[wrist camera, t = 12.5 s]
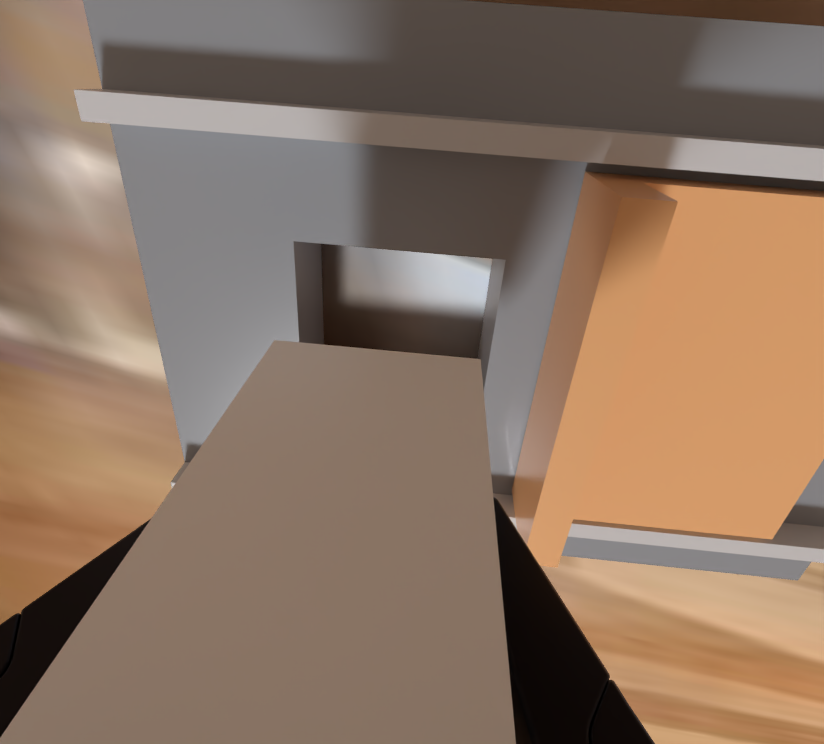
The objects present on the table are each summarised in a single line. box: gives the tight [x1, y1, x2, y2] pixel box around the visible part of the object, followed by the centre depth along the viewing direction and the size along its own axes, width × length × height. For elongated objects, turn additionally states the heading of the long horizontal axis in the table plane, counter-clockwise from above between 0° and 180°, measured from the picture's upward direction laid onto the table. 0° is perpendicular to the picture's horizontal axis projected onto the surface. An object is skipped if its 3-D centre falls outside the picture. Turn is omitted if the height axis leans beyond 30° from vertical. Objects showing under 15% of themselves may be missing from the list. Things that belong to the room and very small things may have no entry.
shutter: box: [512, 171, 824, 567], centre depth 13 cm, size 8×10×3 cm
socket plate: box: [74, 0, 824, 580], centre depth 15 cm, size 22×16×4 cm
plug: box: [0, 340, 516, 744], centre depth 7 cm, size 4×4×8 cm
